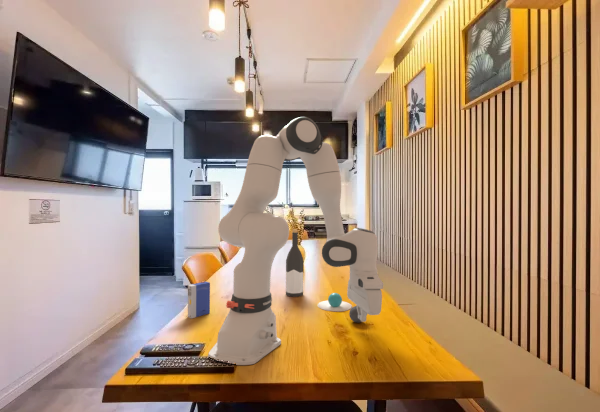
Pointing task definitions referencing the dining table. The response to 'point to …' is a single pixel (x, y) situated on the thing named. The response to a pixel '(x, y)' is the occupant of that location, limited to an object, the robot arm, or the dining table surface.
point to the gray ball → (354, 315)
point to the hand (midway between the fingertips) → (361, 320)
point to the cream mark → (328, 307)
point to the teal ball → (335, 300)
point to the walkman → (198, 299)
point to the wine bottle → (294, 269)
